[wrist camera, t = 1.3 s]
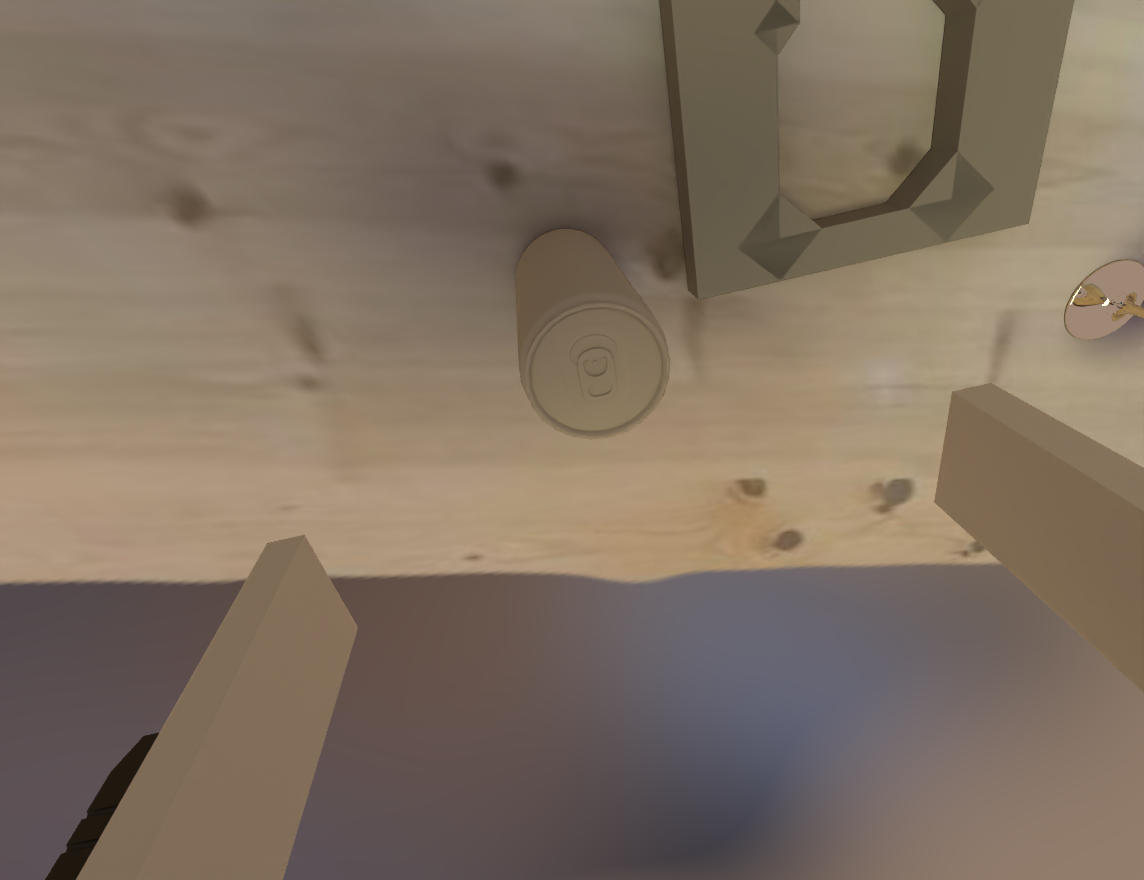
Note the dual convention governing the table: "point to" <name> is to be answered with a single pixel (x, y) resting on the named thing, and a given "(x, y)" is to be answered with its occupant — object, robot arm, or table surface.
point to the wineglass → (1106, 300)
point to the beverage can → (586, 338)
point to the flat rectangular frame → (924, 200)
